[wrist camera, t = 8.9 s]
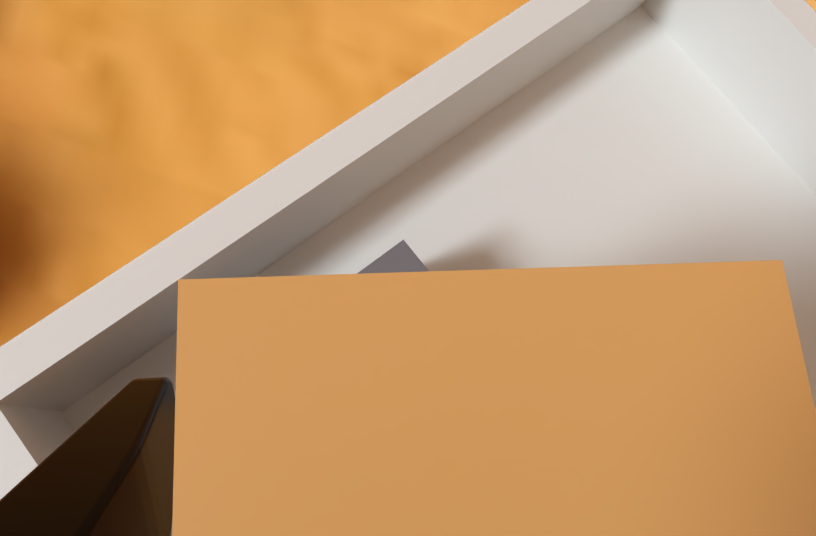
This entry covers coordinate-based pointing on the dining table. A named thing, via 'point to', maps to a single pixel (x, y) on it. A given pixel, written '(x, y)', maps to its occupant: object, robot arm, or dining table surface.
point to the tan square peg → (494, 404)
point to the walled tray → (487, 186)
